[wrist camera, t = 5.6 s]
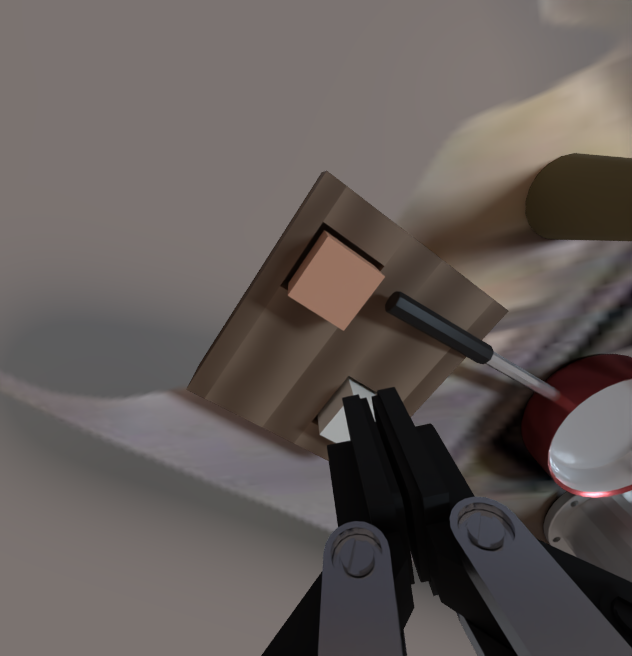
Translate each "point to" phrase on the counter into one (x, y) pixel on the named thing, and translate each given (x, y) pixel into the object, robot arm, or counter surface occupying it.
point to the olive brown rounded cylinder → (582, 199)
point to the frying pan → (557, 407)
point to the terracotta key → (334, 281)
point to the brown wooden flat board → (327, 339)
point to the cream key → (341, 410)
